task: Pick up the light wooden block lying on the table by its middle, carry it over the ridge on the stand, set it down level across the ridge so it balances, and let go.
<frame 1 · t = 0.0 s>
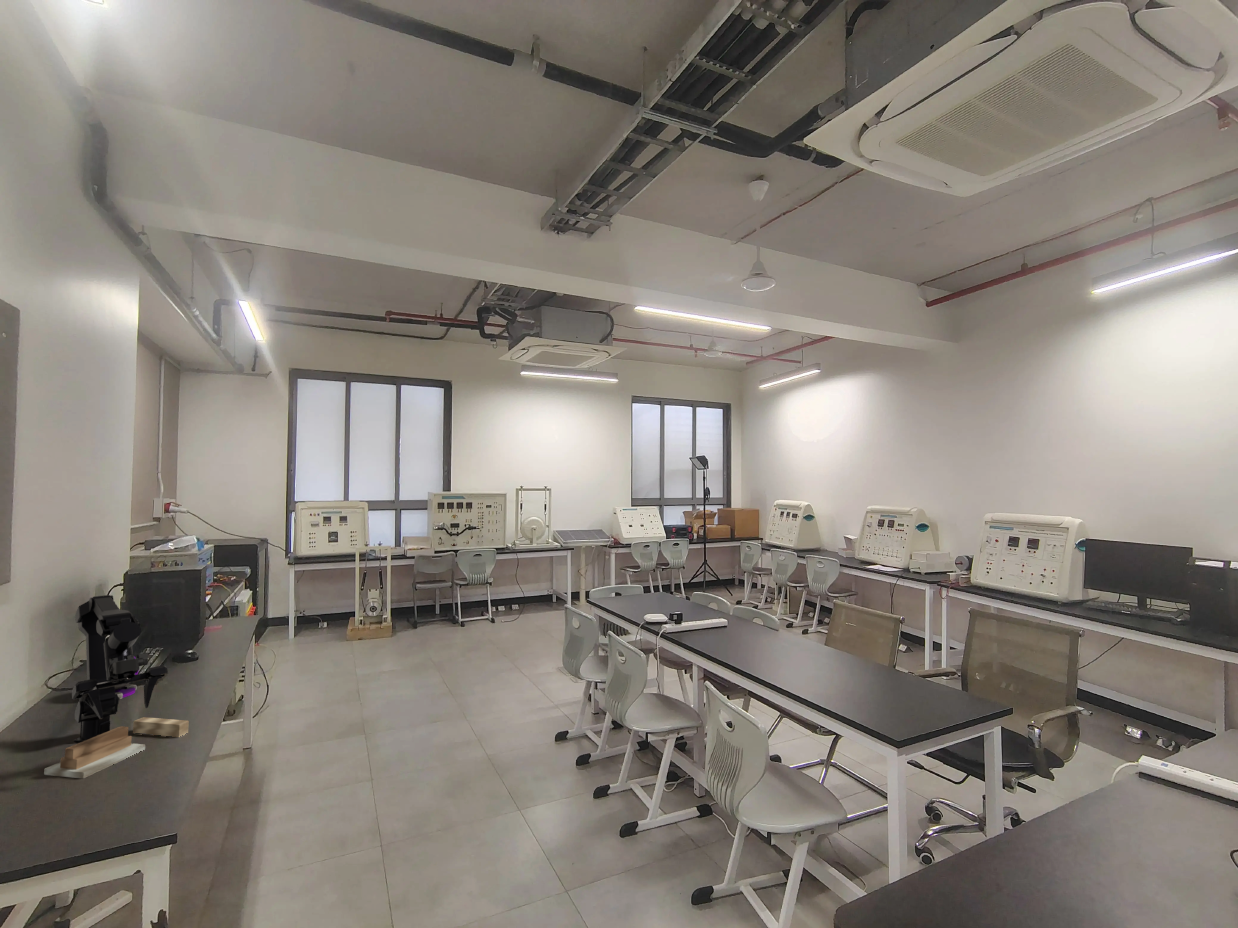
hand: (124, 712, 147), 15 cm above the table, tool tilted 35°, fingers open, 9 cm apart
ridge stand: (96, 761, 151), on the table
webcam: (113, 695, 200), on the table
light wooden block: (160, 734, 169), on the table
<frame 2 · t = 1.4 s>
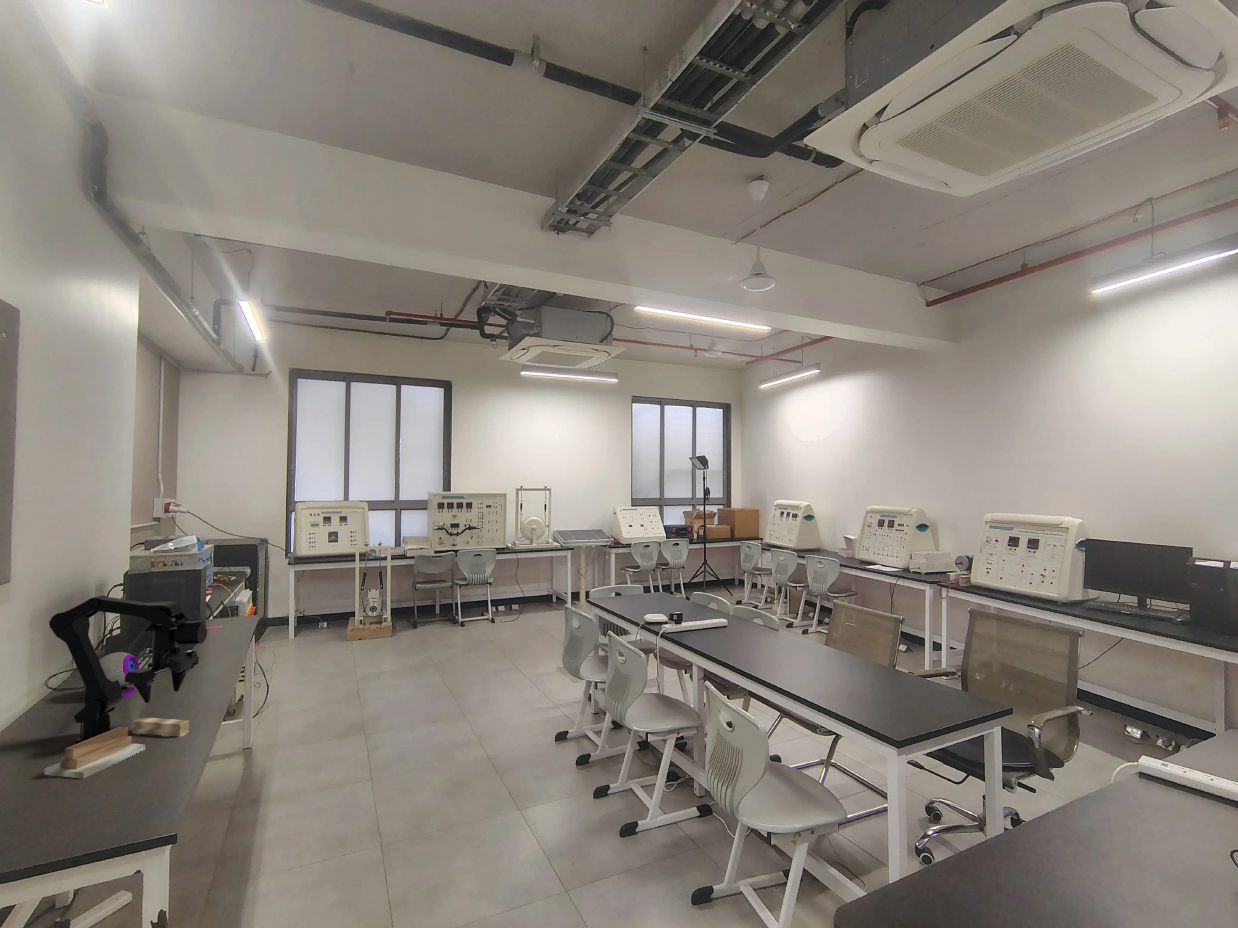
hand: (162, 696, 170), 11 cm above the table, tool pointing down, fingers open, 9 cm apart
nothing on the table moved.
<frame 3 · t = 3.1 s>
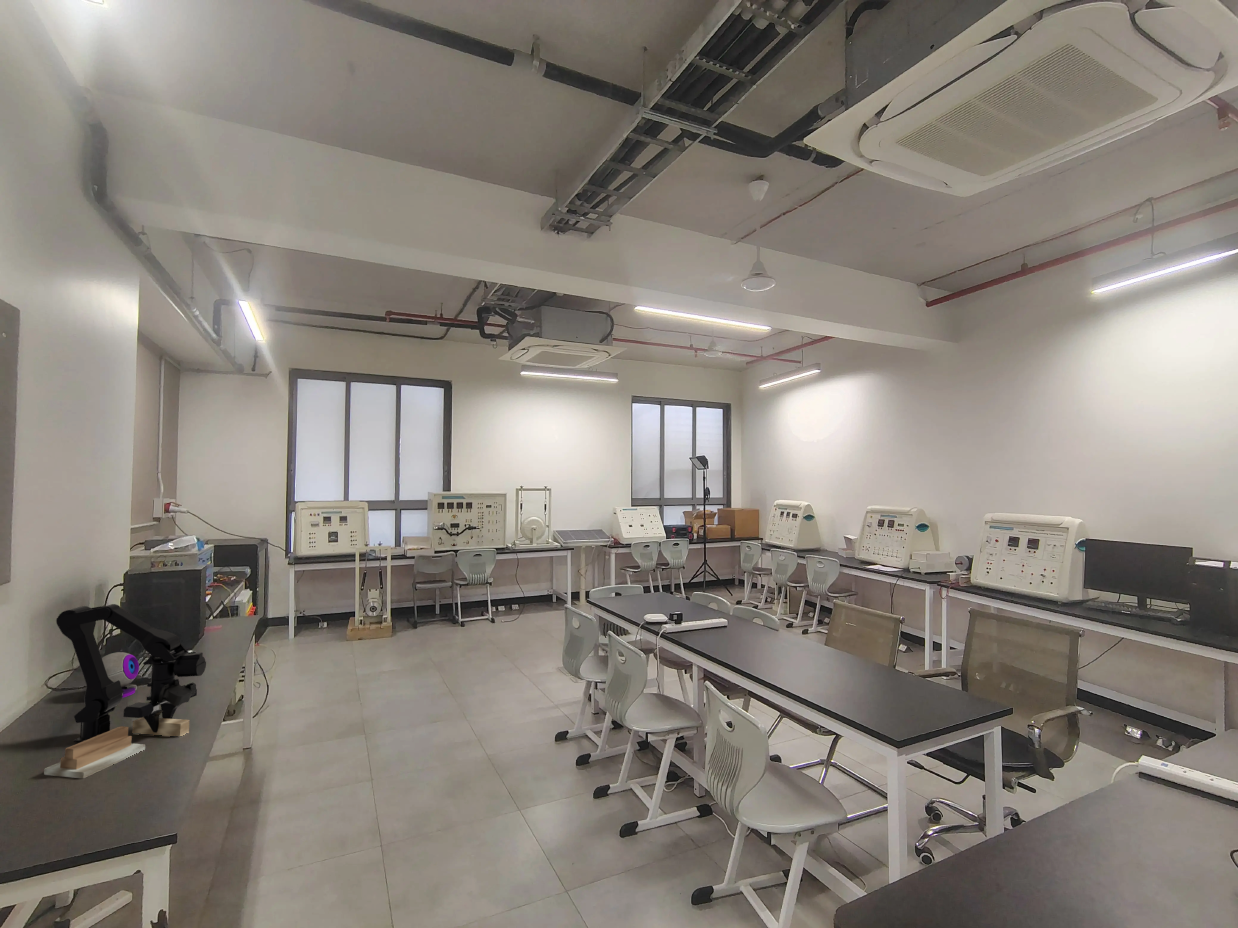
hand: (160, 729, 169), 1 cm above the table, tool pointing down, fingers closed on light wooden block, 3 cm apart
light wooden block: (160, 733, 169), on the table, touching gripper
everything else where it was.
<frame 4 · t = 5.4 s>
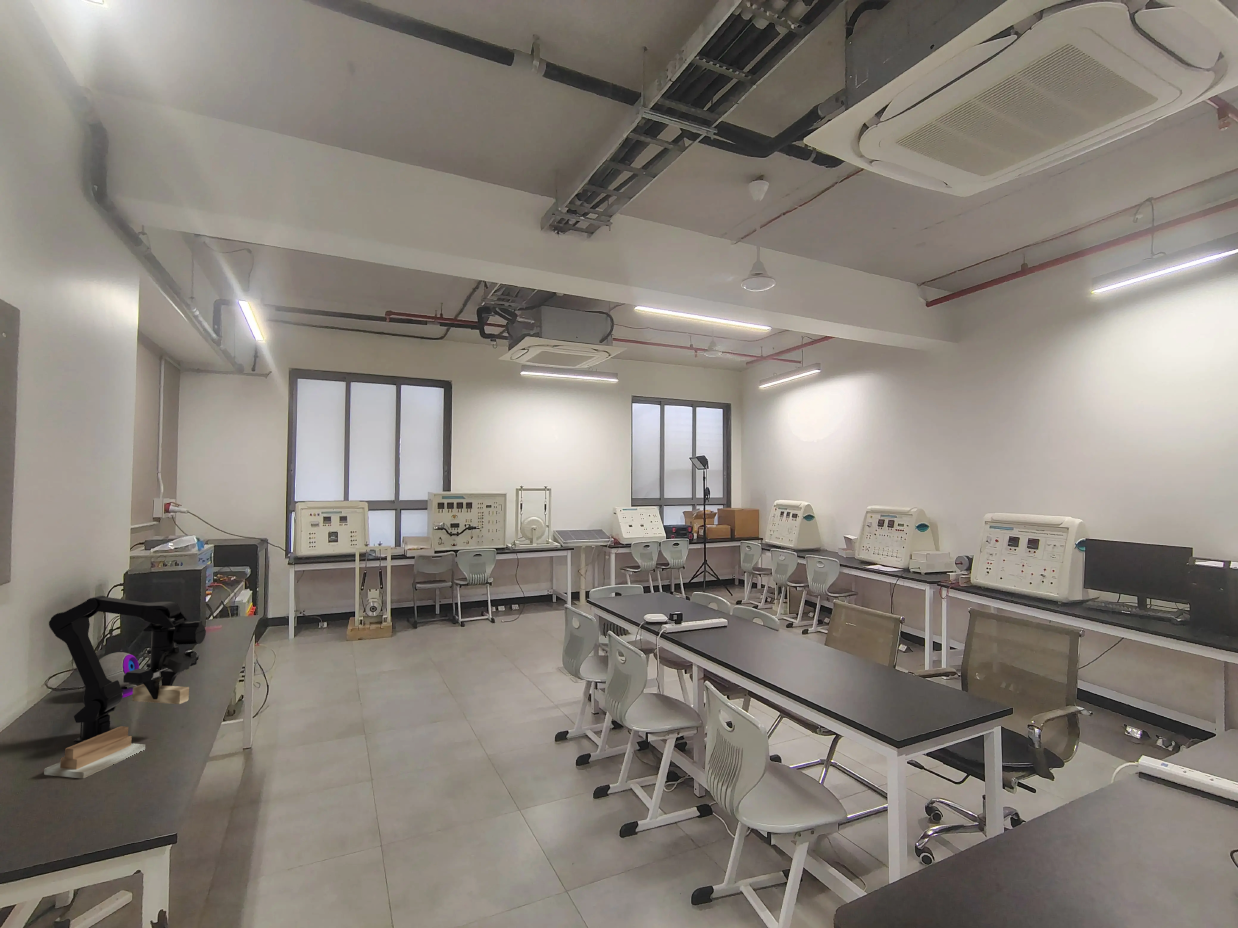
hand: (160, 697, 169), 11 cm above the table, tool pointing down, fingers closed on light wooden block, 3 cm apart
light wooden block: (160, 700, 169), point 10 cm above the table, touching gripper
everything else where it was.
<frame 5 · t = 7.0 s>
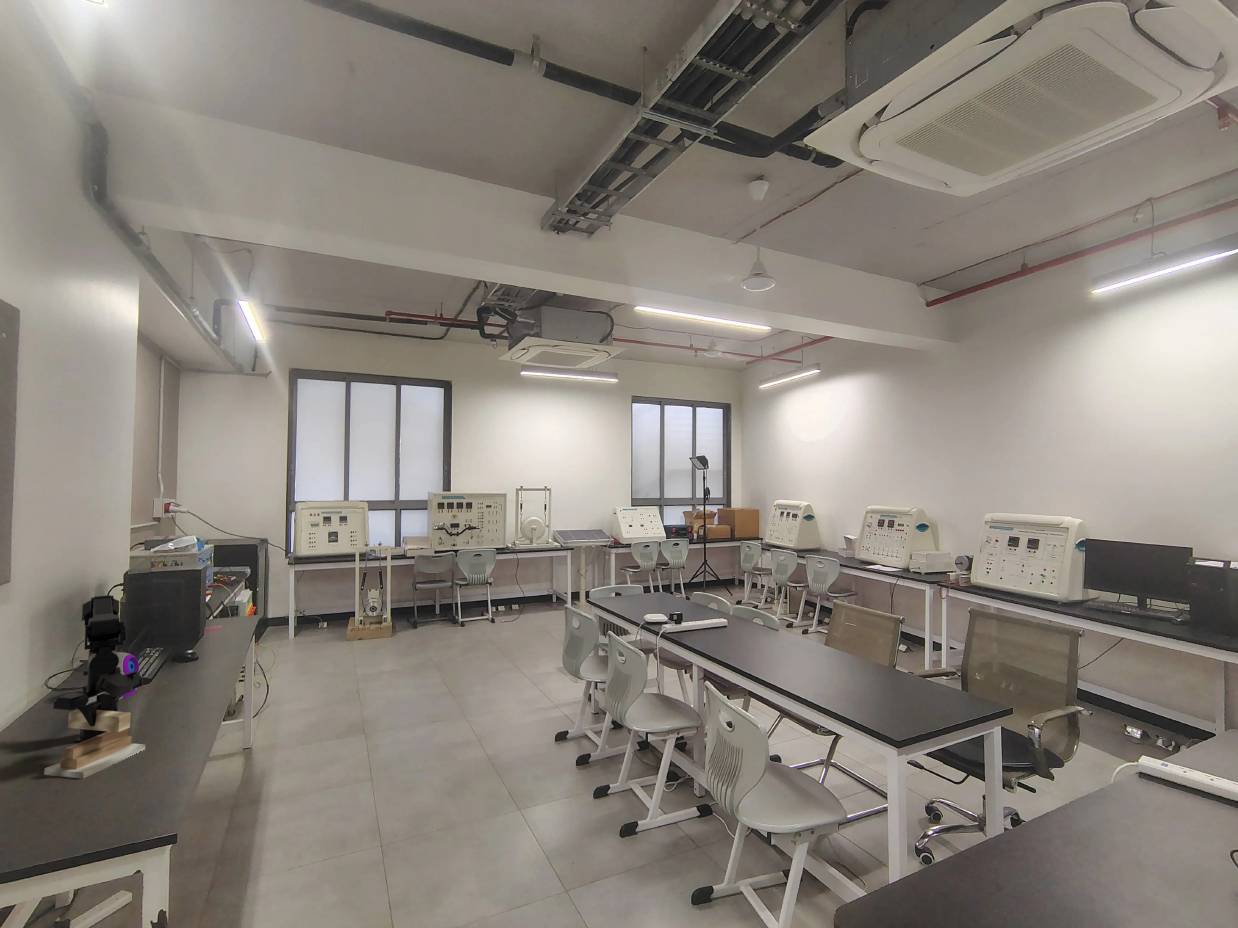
hand: (99, 723, 152), 10 cm above the table, tool pointing down, fingers closed on light wooden block, 3 cm apart
light wooden block: (99, 727, 152), point 9 cm above the table, touching gripper
everything else where it was.
when the fingers open (8 cm above the table, at t = 7.9 s): light wooden block stays where it is, resting on ridge stand.
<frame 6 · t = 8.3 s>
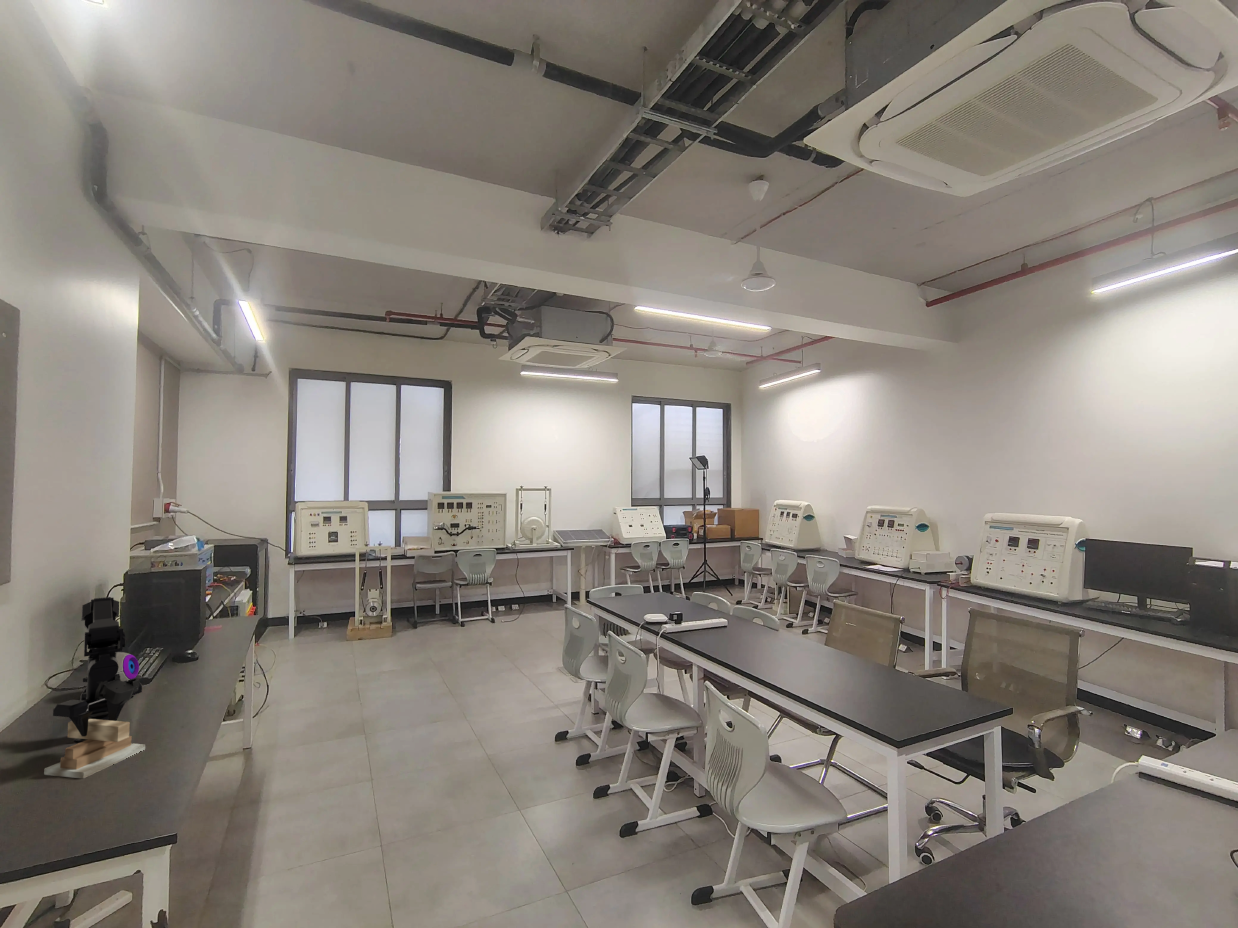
hand: (98, 730, 152), 8 cm above the table, tool pointing down, fingers open, 7 cm apart
light wooden block: (98, 737, 152), point 6 cm above the table, touching ridge stand
everything else where it was.
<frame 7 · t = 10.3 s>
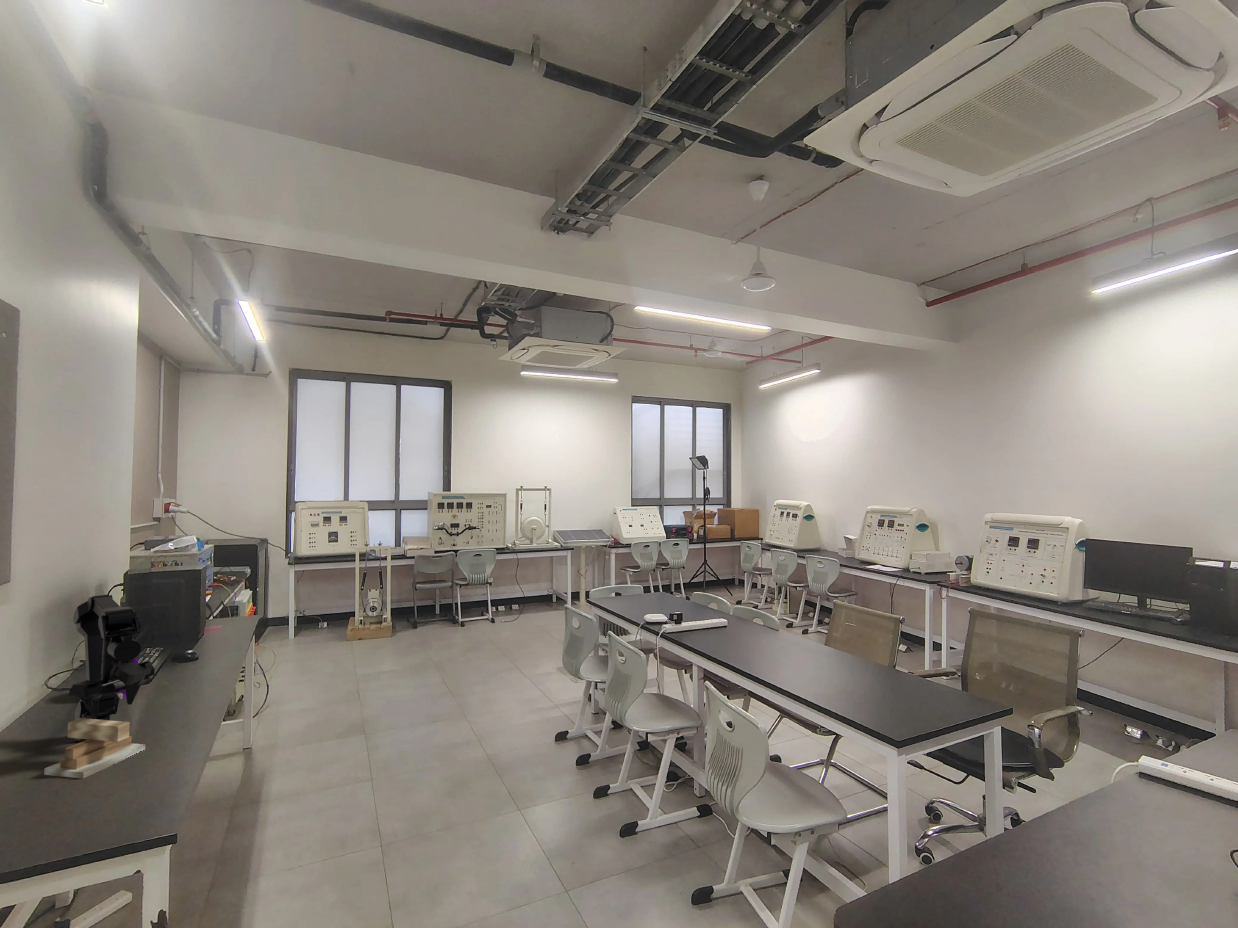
hand: (112, 710, 157), 12 cm above the table, tool pointing down, fingers open, 9 cm apart
nothing on the table moved.
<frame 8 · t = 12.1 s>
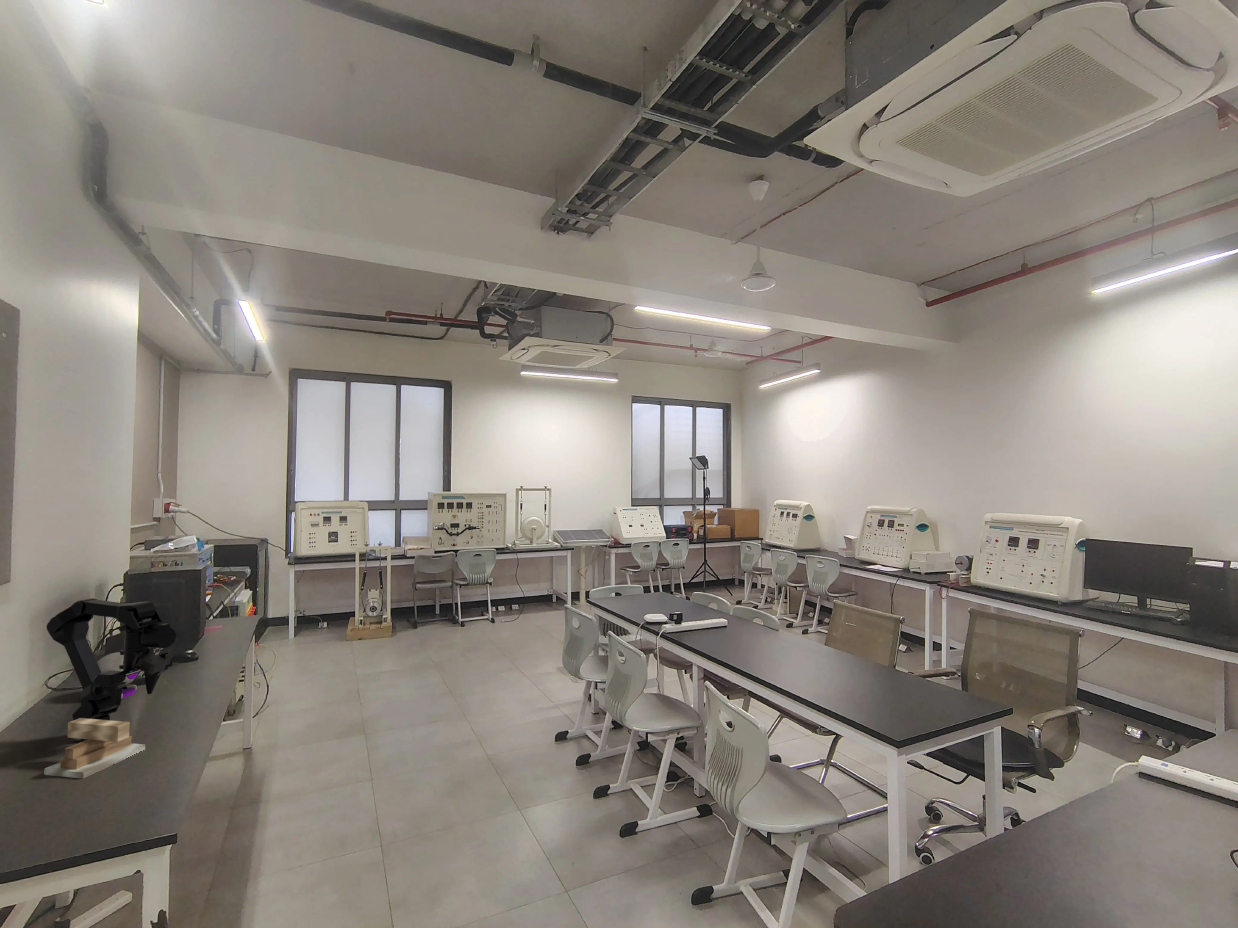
hand: (134, 699, 164), 12 cm above the table, tool pointing down, fingers open, 9 cm apart
nothing on the table moved.
at the end: light wooden block 0.0 cm off-centre on the ridge stand, point 6.5 cm above the ridge stand's base; light wooden block tilted 0°; the gripper is holding nothing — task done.
